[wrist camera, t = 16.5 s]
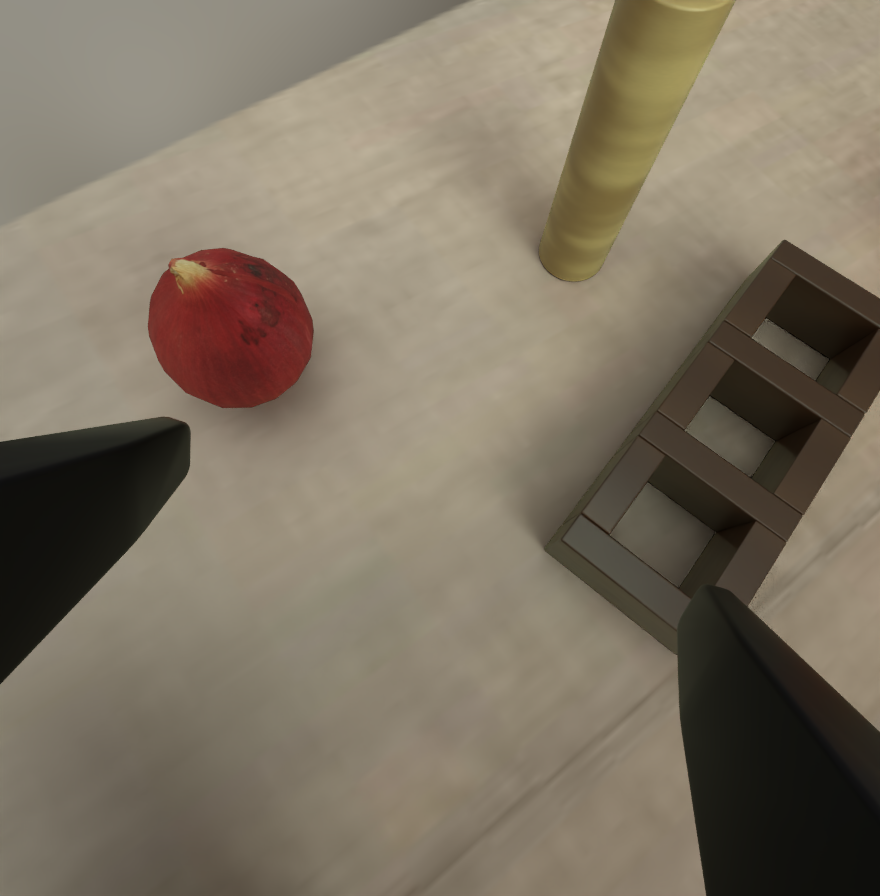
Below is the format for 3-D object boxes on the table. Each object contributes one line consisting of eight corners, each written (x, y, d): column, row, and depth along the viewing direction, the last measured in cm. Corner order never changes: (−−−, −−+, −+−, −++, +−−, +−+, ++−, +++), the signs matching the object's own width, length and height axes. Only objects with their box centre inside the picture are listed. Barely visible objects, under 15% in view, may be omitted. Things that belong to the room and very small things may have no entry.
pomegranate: (299, 297, 26) (247, 163, 18) (346, 401, 24) (312, 303, 17) (178, 344, 25) (71, 223, 17) (220, 454, 24) (123, 375, 16)
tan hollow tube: (615, 268, 27) (768, -11, 15) (557, 291, 26) (667, 21, 14) (584, 218, 28) (705, -86, 16) (527, 239, 27) (607, -57, 15)
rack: (676, 655, 22) (714, 661, 19) (543, 549, 23) (560, 539, 20) (866, 356, 26) (922, 323, 23) (746, 278, 27) (784, 238, 24)
